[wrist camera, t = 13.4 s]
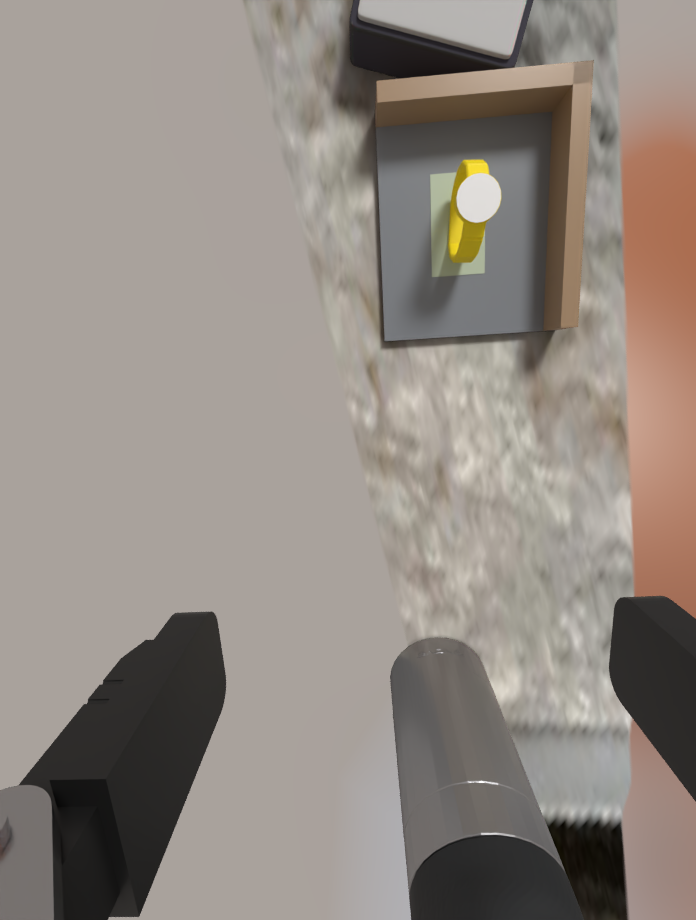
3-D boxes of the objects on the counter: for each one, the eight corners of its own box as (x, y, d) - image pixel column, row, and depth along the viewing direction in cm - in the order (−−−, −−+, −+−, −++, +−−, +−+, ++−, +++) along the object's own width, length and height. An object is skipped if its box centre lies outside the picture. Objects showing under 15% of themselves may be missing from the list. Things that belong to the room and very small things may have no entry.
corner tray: (555, 330, 34) (577, 326, 30) (384, 341, 34) (386, 339, 31) (566, 95, 30) (593, 60, 26) (374, 112, 31) (376, 80, 27)
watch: (473, 267, 32) (496, 254, 27) (436, 267, 33) (452, 255, 27) (480, 177, 31) (507, 143, 25) (442, 177, 31) (460, 143, 25)
